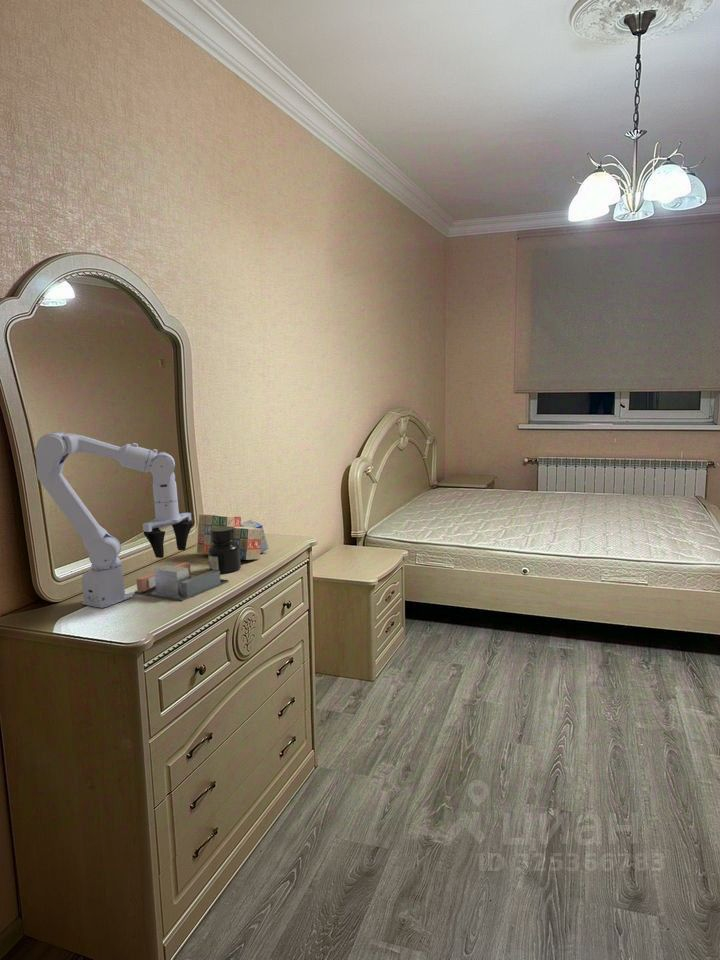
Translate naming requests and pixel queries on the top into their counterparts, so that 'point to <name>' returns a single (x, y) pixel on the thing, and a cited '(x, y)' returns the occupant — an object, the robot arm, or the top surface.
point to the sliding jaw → (149, 580)
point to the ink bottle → (224, 550)
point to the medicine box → (263, 540)
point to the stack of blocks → (243, 535)
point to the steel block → (170, 579)
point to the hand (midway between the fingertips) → (170, 553)
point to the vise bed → (170, 596)
